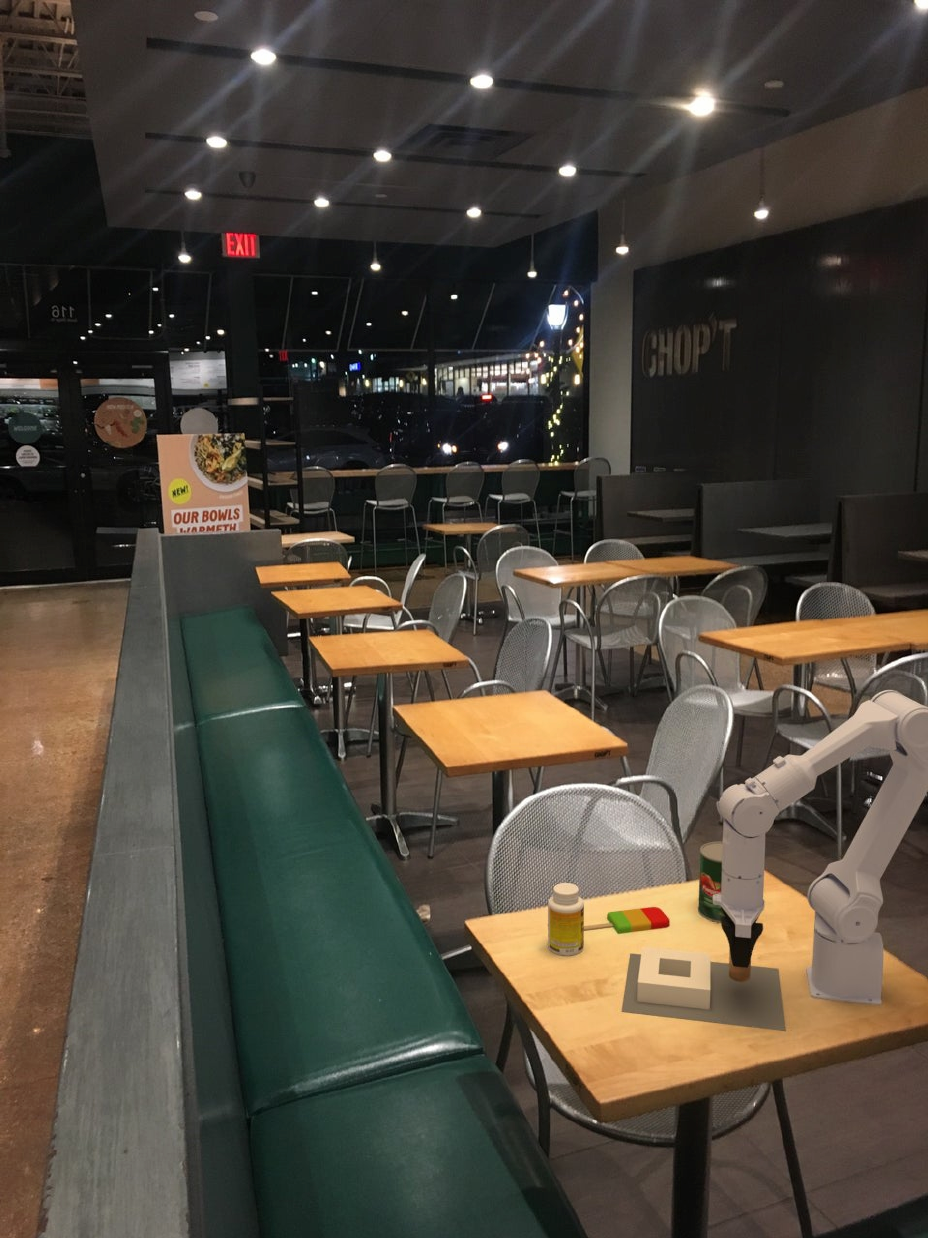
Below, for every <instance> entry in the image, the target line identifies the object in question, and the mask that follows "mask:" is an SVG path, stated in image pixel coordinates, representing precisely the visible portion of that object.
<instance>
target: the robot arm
mask: <svg viewBox="0 0 928 1238" xmlns="http://www.w3.org/2000/svg"><path fill="white" fill-rule="evenodd" d="M867 748H874V749H881V750H882V749H883V750H888V751H887V752H888V753H889V756H890V758H891V760H892V766H891V767H890V770H889V772H888V774H887V776H886V777H885V779H884V781H883V783H882V784H881V787H880V789H879V791H878V792H877V794H876V797H875V798H874V799H873V802H872V804H871V806H870V807H869V809H868V811H867V813H866V815H865V817H864V819H863V820H862V822H861V824H860V826H859V828H858V829H857V832H856V833H855V835H854V837H853V839H852V841H851V843H850V845H849V847H848V848H847V851H846V852H845V854H844V856H843V857H842V859H840V860H836V861H833V862H830V863H829V864H827V866H826V868H825V870H824V871H823V873H821V875H820V876H818V877H817V878H815V880H813V881H812V883H811V884H810V885H809V888H808V889H807V895H806V896H807V902H808V905H809V907H810V908H811V909H812V910H813V911H814V923H813V939H812V941H813V943H812V959H811V960H812V961H811V966H807V967H806V969H805V971H806V977H807V983H808V984H807V985H808V990H809V996H810V997H811V998H813V999H818V1000H829V1001H838V1002H847V1003H855V1004H856V1003H857V1004H866V1005H874V1006H875V1005H876V1004H877V1005H876V1006H881V1005H882V991H883V989H882V988H883V977H884V976H883V975H884V974H883V973H884V943H883V939H882V938H883V937H882V935H881V933H880V932H875V931H876V930H877V927H878V924H879V923H878V922H879V913H880V910H881V907H882V905H883V904H884V897H883V892H882V888H881V887H882V886H881V882H880V881H881V878H882V876H883V874H884V872H885V871H886V869H887V867H888V865H889V864H890V862H891V860H892V858H893V857H894V854H895V852H896V850H897V849H898V847H899V845H900V843H901V841H902V839H903V838H904V836H905V834H906V832H907V830H908V828H909V827H910V825H911V823H912V821H913V819H914V817H915V816H916V814H917V812H918V810H919V808H920V806H921V804H922V803H923V801H924V799H925V797H926V795H927V794H928V706H925V705H923V704H920V703H919V702H917V701H915V700H913V699H911V698H909V697H908V696H905V695H904V694H902V693H901V692H899V691H897V690H895V689H894V690H893V689H885V690H882V691H880V692H878V693H876V694H875V695H874V696H873V697H872V698H871V699H868V700H866V701H864V702H862V703H860V705H859V706H858V708H857V710H856V711H855V713H854V715H852V716H851V717H850V718H848V719H847V720H846V721H845V722H844V723H843V722H842V724H841V725H839V726H838V727H837V728H835V729H834V730H833V731H832V732H830V733H829V734H828V735H826V736H825V737H824V738H822V739H821V740H820V741H819V742H817V743H815V745H813V746H812V747H811V748H810V749H808V750H807V751H806V752H804V753H803V754H802V755H798V754H797V755H794V754H787V755H785V756H783V757H782V756H781V755H779V756H777V757H776V758H774V759H773V760H772V762H773V764H772V765H770V766H769V767H767V768H766V769H764V770H763V771H761V772H760V773H758V774H757V775H755V776H754V777H752V778H751V777H749V778H747V779H746V780H745V781H744V783H745V784H744V783H740V784H733V785H731V786H729V787H728V788H725V790H724V791H723V792H722V795H721V796H720V798H719V801H716V809H717V812H718V814H719V815H720V816H721V818H722V819H723V827H722V842H723V847H722V885H721V894H714V895H713V904H714V905H720V906H721V910H722V911H723V914H724V916H725V917H721V923H720V925H721V929H722V931H723V933H724V934H725V936H726V939H727V942H728V945H729V946H728V947H729V948H730V954H731V960H732V964H733V966H734V967H744V968H748V966H749V963H750V960H751V961H752V955H753V952H754V948H755V945H756V943H757V942H758V939H759V937H760V936H761V935H762V934H763V931H764V924H763V922H757V921H758V919H759V917H760V915H761V914H762V912H763V911H764V909H765V903H766V902H765V899H764V887H765V886H764V884H765V883H764V882H765V856H766V855H765V854H766V834H767V833H768V831H770V829H771V828H772V826H773V825H774V820H775V819H776V817H777V816H779V813H780V812H782V811H783V810H785V809H787V808H788V807H790V806H792V804H794V803H795V802H797V801H798V800H800V799H801V798H802V797H804V796H806V795H808V793H811V792H812V791H813V790H814V789H815V788H816V787H815V786H816V783H817V777H818V776H820V775H822V774H824V773H826V772H827V771H828V770H830V769H832V768H834V767H836V766H837V765H839V764H840V763H842V762H844V761H846V760H848V759H849V758H851V757H853V756H854V755H856V754H858V753H859V752H862V751H863V750H865V749H867Z"/></svg>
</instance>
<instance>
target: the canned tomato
mask: <svg viewBox="0 0 928 1238" xmlns="http://www.w3.org/2000/svg"><path fill="white" fill-rule="evenodd" d="M722 847H723V841H712V842H707V843H704V844H703V845H701V847H700V849H699V873H698V874H699V880H698V908H697V911H698V914H699V915H700V916H701V917H702V918H704V919H706V920H708V921H711V922H713V923H719V924H721V917H725V916H724V914H723V911H722V910H721V906H720V905H714V904H713V895H714V894H721V885H722Z"/></svg>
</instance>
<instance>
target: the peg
mask: <svg viewBox="0 0 928 1238" xmlns="http://www.w3.org/2000/svg"><path fill="white" fill-rule="evenodd" d="M728 951H729V952H728V954H729V957H728V963H729V977H730V978H731V979H733V980H735V981H738V982H745V981H748V980H749V979H750V974H751V966H752V959H751V960H750V963H749V966H748V968H744V967H734V966H733V964H732V960H731V954H730V948H729V950H728Z"/></svg>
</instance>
